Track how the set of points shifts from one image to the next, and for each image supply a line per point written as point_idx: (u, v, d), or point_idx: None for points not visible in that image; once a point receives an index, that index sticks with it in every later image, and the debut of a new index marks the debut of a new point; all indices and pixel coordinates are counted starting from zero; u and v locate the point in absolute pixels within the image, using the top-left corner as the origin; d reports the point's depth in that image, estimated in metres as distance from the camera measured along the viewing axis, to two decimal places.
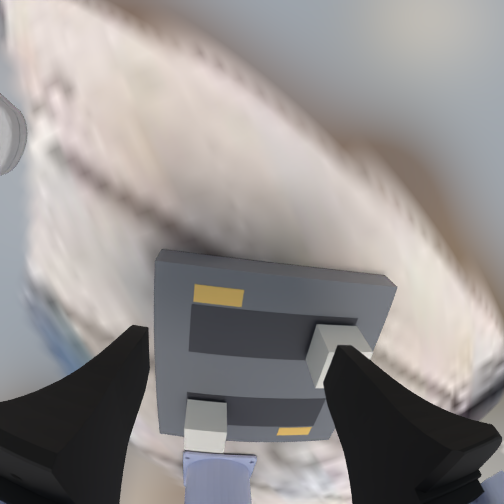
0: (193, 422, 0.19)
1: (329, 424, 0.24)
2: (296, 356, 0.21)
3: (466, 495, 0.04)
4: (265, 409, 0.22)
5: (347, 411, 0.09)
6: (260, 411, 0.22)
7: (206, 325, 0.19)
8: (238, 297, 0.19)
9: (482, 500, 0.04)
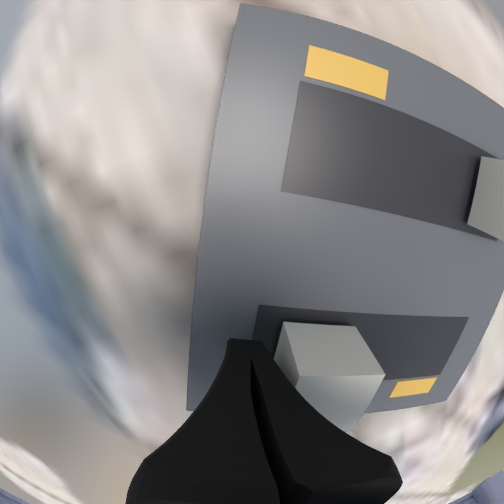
0: (313, 362, 0.09)
1: (457, 371, 0.14)
2: (453, 220, 0.11)
3: None
4: (391, 340, 0.12)
5: None
6: (382, 347, 0.12)
7: (324, 129, 0.09)
8: (380, 81, 0.09)
9: (482, 500, 0.04)
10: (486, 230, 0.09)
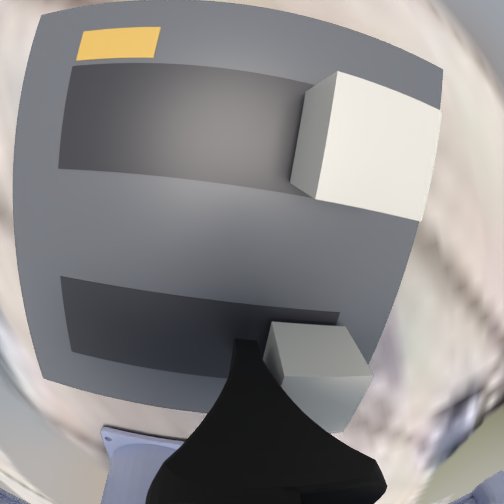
0: (300, 362, 0.09)
1: None
2: (270, 180, 0.10)
3: None
4: (212, 330, 0.11)
5: None
6: (202, 336, 0.12)
7: (89, 103, 0.08)
8: (150, 40, 0.08)
9: (482, 500, 0.04)
10: (299, 184, 0.08)
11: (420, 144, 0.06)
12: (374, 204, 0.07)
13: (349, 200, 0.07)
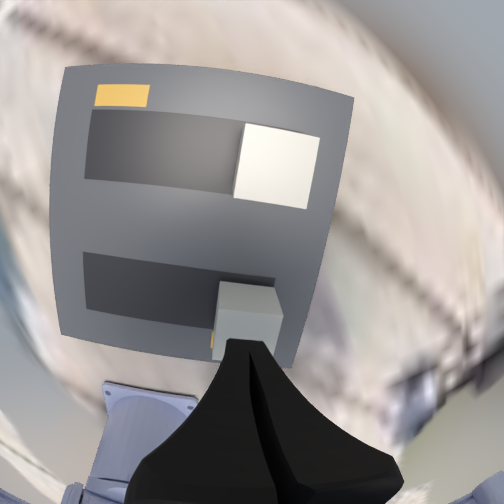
0: (231, 303, 0.14)
1: (288, 335, 0.18)
2: (221, 186, 0.15)
3: None
4: (186, 288, 0.17)
5: None
6: (179, 293, 0.17)
7: (105, 136, 0.14)
8: (143, 94, 0.13)
9: (482, 500, 0.04)
10: (233, 189, 0.14)
11: (301, 161, 0.12)
12: (270, 199, 0.12)
13: (254, 197, 0.12)
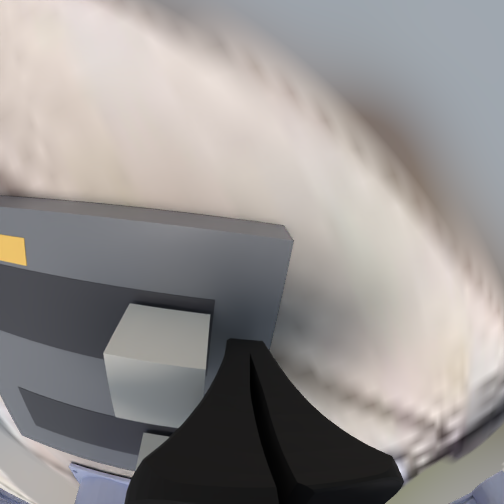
0: None
1: None
2: None
3: None
4: (115, 430, 0.13)
5: None
6: (110, 432, 0.14)
7: (1, 292, 0.10)
8: (21, 249, 0.10)
9: (482, 500, 0.04)
10: None
11: (184, 393, 0.08)
12: (155, 422, 0.09)
13: (137, 419, 0.09)
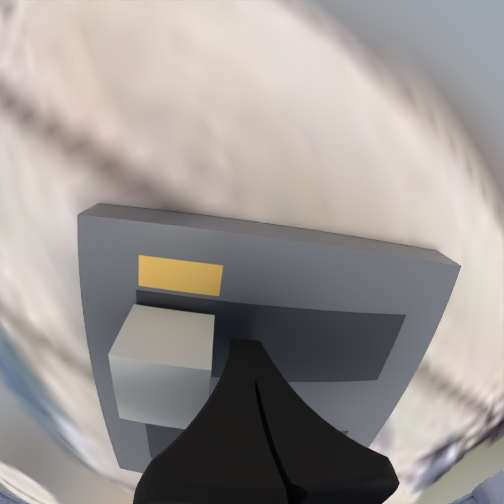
0: None
1: None
2: (310, 376, 0.13)
3: None
4: None
5: None
6: None
7: None
8: (213, 278, 0.11)
9: (482, 500, 0.04)
10: None
11: (189, 394, 0.08)
12: (160, 423, 0.09)
13: (141, 420, 0.09)
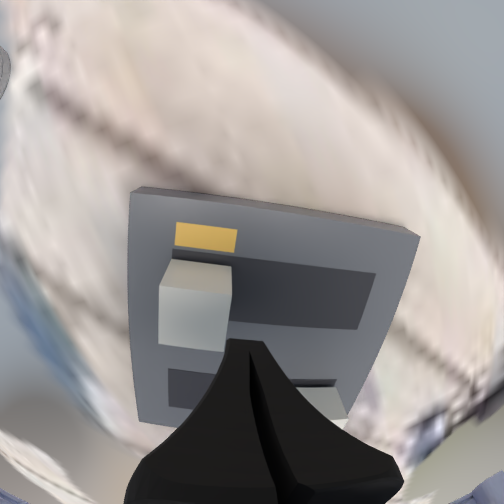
0: None
1: None
2: (302, 321, 0.17)
3: None
4: None
5: None
6: None
7: None
8: (230, 239, 0.15)
9: (482, 500, 0.04)
10: None
11: (215, 316, 0.13)
12: (190, 345, 0.13)
13: (175, 344, 0.13)
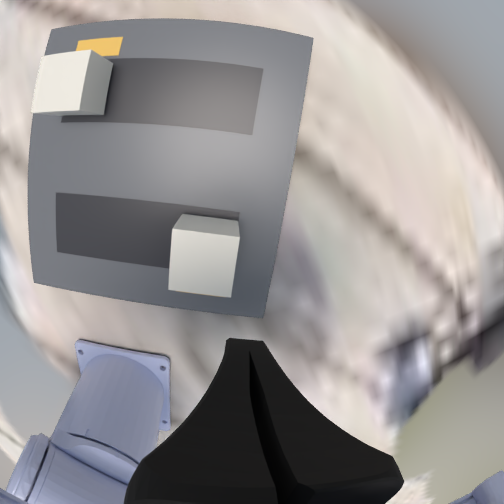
0: (187, 226, 0.14)
1: (257, 278, 0.18)
2: (184, 120, 0.15)
3: None
4: (150, 224, 0.16)
5: None
6: (143, 230, 0.16)
7: None
8: (117, 45, 0.13)
9: (482, 500, 0.04)
10: (49, 113, 0.12)
11: (76, 72, 0.10)
12: (53, 108, 0.11)
13: (43, 109, 0.11)
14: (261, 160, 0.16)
